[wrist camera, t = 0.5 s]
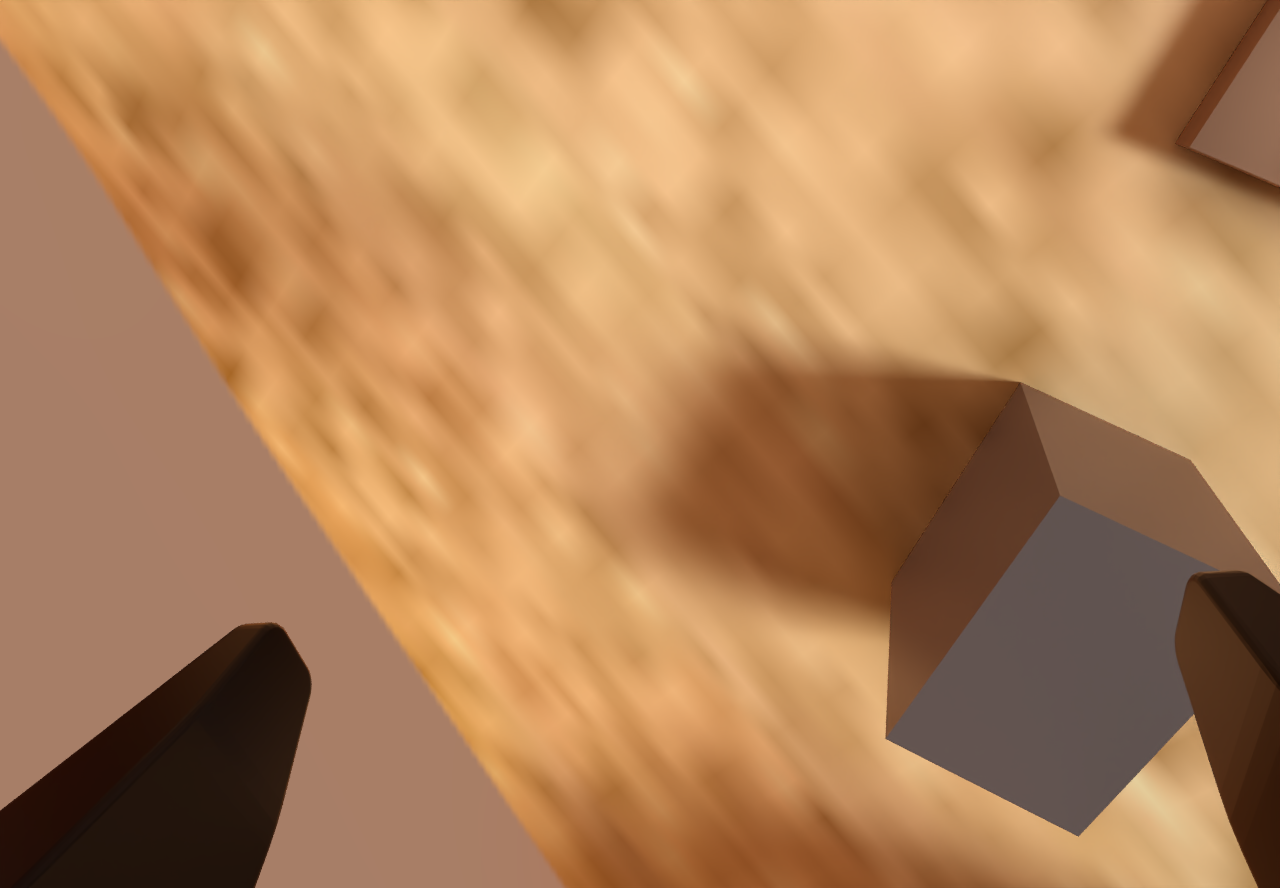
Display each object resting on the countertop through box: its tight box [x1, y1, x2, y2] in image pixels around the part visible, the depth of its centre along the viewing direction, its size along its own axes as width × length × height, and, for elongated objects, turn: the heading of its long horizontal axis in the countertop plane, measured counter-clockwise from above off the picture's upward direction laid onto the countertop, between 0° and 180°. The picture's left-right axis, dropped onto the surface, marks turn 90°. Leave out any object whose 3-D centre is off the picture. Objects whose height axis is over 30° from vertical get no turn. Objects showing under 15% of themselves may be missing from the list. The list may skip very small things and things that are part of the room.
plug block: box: [886, 382, 1280, 837], centre depth 18 cm, size 4×6×6 cm, turn 159°
